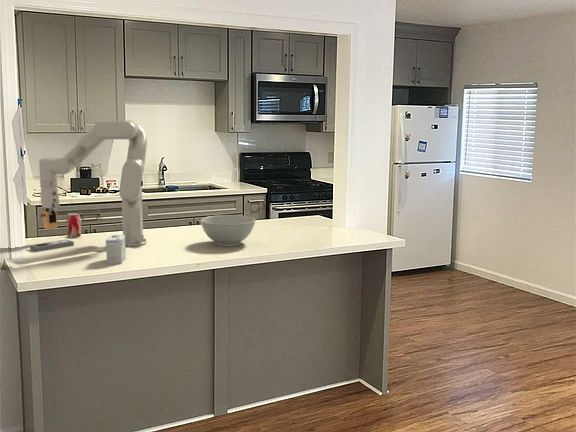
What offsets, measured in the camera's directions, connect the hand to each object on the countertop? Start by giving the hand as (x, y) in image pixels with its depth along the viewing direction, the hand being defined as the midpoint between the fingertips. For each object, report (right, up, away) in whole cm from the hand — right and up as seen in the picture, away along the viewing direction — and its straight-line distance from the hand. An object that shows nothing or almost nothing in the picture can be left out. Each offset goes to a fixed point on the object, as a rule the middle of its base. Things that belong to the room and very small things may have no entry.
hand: (50, 221), depth 313 cm
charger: (0, -3, 0) cm, 3 cm away
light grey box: (+39, -17, -28) cm, 51 cm away
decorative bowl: (+85, -11, +8) cm, 86 cm away
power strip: (+4, -14, -8) cm, 16 cm away
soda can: (+4, -8, +23) cm, 25 cm away
